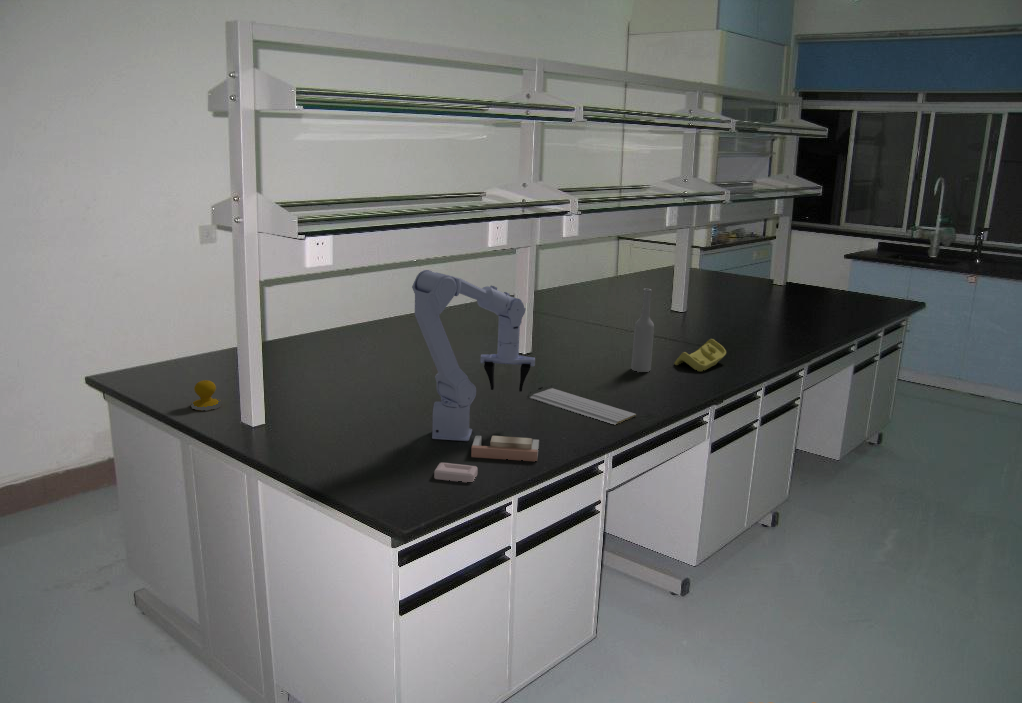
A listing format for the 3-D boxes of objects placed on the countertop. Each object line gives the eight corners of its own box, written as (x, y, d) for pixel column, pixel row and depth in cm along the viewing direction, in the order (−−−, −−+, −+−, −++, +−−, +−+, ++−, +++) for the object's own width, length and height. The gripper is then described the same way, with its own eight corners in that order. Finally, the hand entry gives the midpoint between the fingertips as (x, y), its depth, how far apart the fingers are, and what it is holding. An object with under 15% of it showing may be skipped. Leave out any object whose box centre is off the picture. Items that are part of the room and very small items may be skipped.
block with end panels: (471, 457, 195) (471, 447, 194) (475, 444, 202) (475, 435, 202) (536, 461, 193) (537, 452, 193) (538, 449, 201) (539, 439, 200)
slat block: (489, 456, 196) (490, 441, 195) (491, 450, 200) (492, 435, 199) (530, 459, 195) (531, 444, 194) (531, 453, 199) (532, 438, 198)
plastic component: (703, 367, 271) (680, 349, 275) (693, 383, 275) (671, 365, 280) (730, 352, 285) (708, 335, 289) (721, 368, 289) (699, 351, 294)
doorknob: (195, 413, 216) (187, 405, 222) (225, 408, 221) (216, 400, 227) (194, 387, 214) (185, 379, 220) (224, 382, 219) (214, 375, 225)
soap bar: (439, 470, 187) (440, 461, 186) (477, 475, 186) (478, 465, 185) (433, 480, 182) (433, 470, 181) (472, 484, 181) (473, 474, 180)
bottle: (634, 373, 269) (641, 291, 261) (628, 367, 275) (634, 287, 267) (653, 372, 270) (660, 291, 263) (646, 367, 276) (653, 287, 269)
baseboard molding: (611, 429, 218) (635, 419, 227) (612, 419, 218) (636, 409, 226) (526, 401, 238) (551, 392, 247) (526, 391, 238) (552, 383, 246)
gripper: (536, 338, 216) (534, 386, 220) (483, 335, 217) (481, 383, 221) (535, 345, 209) (532, 394, 213) (479, 342, 210) (478, 391, 214)
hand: (506, 389), depth 216 cm, fingers open, 7 cm apart
